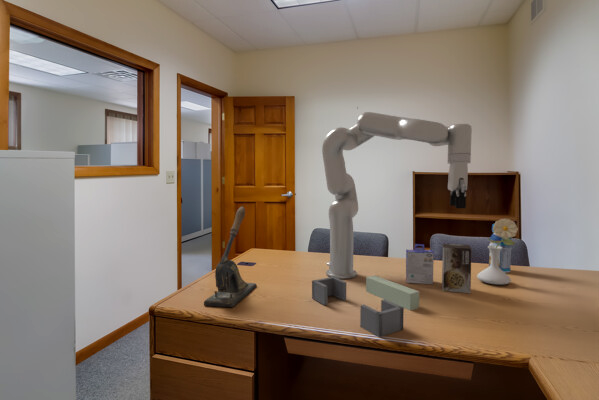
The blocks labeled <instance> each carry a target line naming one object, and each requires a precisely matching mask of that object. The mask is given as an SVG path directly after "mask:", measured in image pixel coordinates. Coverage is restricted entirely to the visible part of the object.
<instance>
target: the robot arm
mask: <svg viewBox="0 0 599 400" xmlns="http://www.w3.org/2000/svg"><path fill="white" fill-rule="evenodd" d="M472 131H473V130H472V126H471V125H470V124H469V123H455V124H451V125H450V126H447V125H444V124H443V123H441V122H437V121H432V120H427V119H420V118H419V119H418V118H411V117H409V118H408V117H402V116H396V115H390V114H383V113H379V112H371V111H366V112H363V113H361V114H360V115H359V116H358V118H357V122H356V124H355V125H353V126H352V127H350V128H347V127H342V126H341V127H336V128H333V129H332V130H331V131H329V133H328V134H327V135H325V138H324V140H323V142H322V145H321V146H322V147H321V148H322V149H321V151H322V160H323V165H324V166H323V167H324V174H325V181H326V187H327V190H328V192H329V193H330V194H332V195H334V197H335V200H334V201H333V202H332V203H331V204H330V205H329V209H328V220H329V233H330V234H329V242H330V243H329V261H328V262H326V265H327V266H328V269H327V270H326V271H325V272H326V273H325V274H326V276H328V277H336V278H338V279H340V280H342V279H344V280H345V279H353V278H355V277H357V274H358V272H357V270H356V269H354V225H353V224H354V223H353V222H354V221H353V219H354V217H356V216H357V214H358V212H359V202H358V194H357V190H356V184H355V179H353V178H354V177H352V176H351V174H349V173H348V172H347V169H346V161H345V158H344V151H352V150H354V149H356V148H357V147H359V146H362V144H364V143H366V142H368V141H370V140H371V139H373V138H374V137H378V138H379V137H380V138H385V139H391V140H397V141H400V140H401V141H402V140H409V141H417V142H421V143H426V144H429V145H430V146H432V147H441V146H442V147H444V146H447V164H449V167H448V168H449V169H448V179H447V181H448V182H447V190H448V191H450V196H449V205H450V206H452V207H455V209H466V207H467V206H466V204H467V201H466V200H467V197H466V196H467V190H468V178H469V176H468V169H469V167H468V164H471V161H472V160H471V158H472V157H471V156H472Z"/></svg>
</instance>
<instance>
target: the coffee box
mask: <svg viewBox="0 0 599 400" xmlns="http://www.w3.org/2000/svg"><path fill="white" fill-rule="evenodd" d="M441 274H442V275H441V277H442V278H441V279H442V280H441V289H442V291H443V292H451V293H462V294H463V293H464V294H471V293H472V292H471V289H472V288H471V287H472V281H471V280H472V247H471V246H470V245H469V244H462V243H461V244H460V243H459V244H457V243H455V244H454V243H442V272H441Z"/></svg>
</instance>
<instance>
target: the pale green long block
mask: <svg viewBox="0 0 599 400" xmlns="http://www.w3.org/2000/svg"><path fill="white" fill-rule="evenodd" d="M365 278H366V279H365V280H366V281H365V282H366V283H365V284H366V285H365V292H366V293H368V294H370V295H373V296H376V297H377V298H380V299H381V300H384V299H385V300H387V301H390V302H392V303H394V304H396V305H399V306H401V307H403V308H404V310H407V311H413V310H416V309H419V308H420V290H419V291H418V290H416V289H413V288H410V287H408V286H405V285H402V284H400V283H396V282H394V281H391V280H390V279H389V280H388V279H386V278H383V277H380V276H378V275H374V274H373V275H370V276H366V277H365Z"/></svg>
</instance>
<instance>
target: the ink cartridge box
mask: <svg viewBox="0 0 599 400" xmlns="http://www.w3.org/2000/svg"><path fill="white" fill-rule="evenodd" d="M405 251H406V252H405V282H406V284H423V285H433V284H434V260H435V259H434V257H435V255H434V251H433V250H431V249H425V244H424V243H423V244H422V243H421V244H420V243H414V249H405Z"/></svg>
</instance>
